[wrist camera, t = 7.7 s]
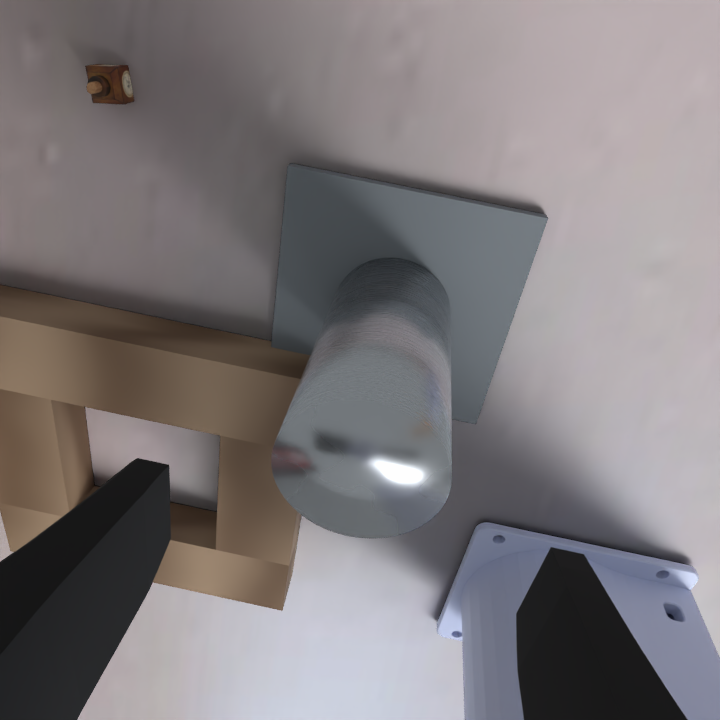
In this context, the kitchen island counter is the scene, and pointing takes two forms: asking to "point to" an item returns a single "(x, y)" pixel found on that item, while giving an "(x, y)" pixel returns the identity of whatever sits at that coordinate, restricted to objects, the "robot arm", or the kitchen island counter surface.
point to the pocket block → (154, 403)
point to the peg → (373, 407)
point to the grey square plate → (410, 242)
